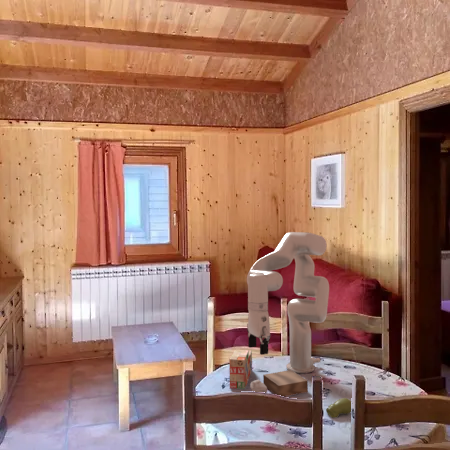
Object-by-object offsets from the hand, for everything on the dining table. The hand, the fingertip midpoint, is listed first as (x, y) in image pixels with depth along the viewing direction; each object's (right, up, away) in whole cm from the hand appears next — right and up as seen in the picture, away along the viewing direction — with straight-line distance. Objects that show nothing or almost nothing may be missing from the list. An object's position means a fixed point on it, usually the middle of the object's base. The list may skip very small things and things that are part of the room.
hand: (258, 350), depth 184 cm
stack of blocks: (-6, -18, +21) cm, 29 cm away
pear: (+28, -20, -13) cm, 36 cm away
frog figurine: (0, -19, +1) cm, 19 cm away
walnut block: (+12, -19, +10) cm, 24 cm away
